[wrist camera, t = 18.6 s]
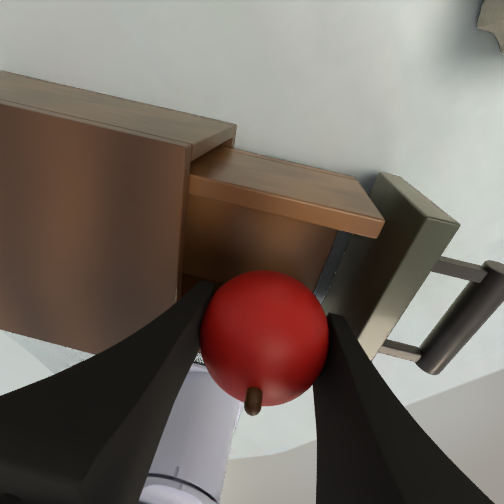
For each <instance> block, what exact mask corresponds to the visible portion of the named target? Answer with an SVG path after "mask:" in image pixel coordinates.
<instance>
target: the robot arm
mask: <svg viewBox="0 0 504 504" xmlns="http://www.w3.org/2000/svg"><path fill="white" fill-rule="evenodd" d="M215 287H216V284H214V283H210V282H206V281H202V280H201V281H199V282H198V283H197V284H196V285H195V286H194V287H193V288H192V289H191V290H190V291H189V292H187V293H186V294H185V295H184V296H183V297H182V298H181V299H179V300H178V301H177V302H176V303H175V304H173V305H172V306H171V307H170V308H168V309H167V310H166V311H165V312H163V313H162V314H161V315H159V316H158V317H157V318H155V319H154V320H152V321H151V322H150V323H148V324H147V325H145V326H144V327H142V328H141V329H139V330H138V331H136V332H135V333H133V334H132V335H130V336H128V337H127V338H125V339H124V340H122V341H120V342H118V343H117V344H115V345H113V346H111V347H109V348H108V349H106V350H104V351H102V352H100V353H99V354H97V355H95V356H93V357H91V358H89V359H87V360H85V361H82V362H80V363H78V364H76V365H74V366H72V367H70V368H67V369H65V370H63V371H61V372H59V373H57V374H54V375H52V376H50V377H48V378H45V379H42V380H40V381H37V382H35V383H32V384H30V385H27V386H25V387H22V388H20V389H17V390H15V391H12V392H9V393H7V394H4V395H2V396H0V504H219V503H220V498H221V493H222V488H223V482H224V478H225V473H226V467H227V463H228V458H229V453H230V447H231V442H232V437H233V432H234V430H235V429H236V425H237V422H238V419H239V416H240V412H241V409H242V406H243V403H244V402H241V401H239V400H237V399H235V398H234V397H232V396H230V395H229V394H227V393H226V392H225V391H223V390H222V389H221V388H220V387H219V386H218V385H217V383H216V382H215V381H214V380H213V378H212V377H211V375H210V374H209V372H208V370H207V368H206V366H203V365H199V364H196V363H193V362H194V360H195V357H196V355H197V353H198V351H199V349H200V343H199V333H200V326H201V322H202V319H203V316H204V312H205V310H206V308H207V305H208V303H209V301H210V299H211V298H212V296H213V295H214V293H215ZM326 318H327V323H328V328H329V350H328V356H327V359H326V362H325V365H324V367H323V370H322V371H321V373H320V375H319V377H318V378H317V380H316V381H315V382H314V383H313V393H314V405H315V417H316V430H317V486H316V504H495V503H494V502H492V501H491V500H490V499H489V498H488V497H487V496H486V495H485V494H484V493H483V492H482V491H481V490H480V489H479V488H478V487H477V486H476V485H475V484H474V483H473V482H472V481H471V480H470V479H469V478H468V477H467V476H466V475H465V474H464V473H463V472H462V471H461V470H460V469H459V468H458V467H457V466H456V465H455V464H454V463H453V462H452V461H451V460H450V459H449V458H448V457H447V456H446V455H445V454H444V452H443V451H442V450H441V449H440V448H439V447H438V446H437V445H436V444H435V443H434V442H433V440H432V439H431V438H430V437H429V436H428V435H427V434H426V433H425V432H424V430H423V429H422V428H421V427H420V426H419V425H418V423H417V422H416V421H415V420H414V419H413V417H412V416H411V415H410V414H409V413H408V411H407V410H406V409H405V407H404V406H403V405H402V404H401V403H400V401H399V400H398V399H397V397H396V396H395V395H394V393H393V392H392V391H391V389H390V388H389V387H388V385H387V384H386V382H385V381H384V380H383V378H382V377H381V375H380V374H379V372H378V371H377V370H376V368H375V367H374V365H373V364H372V362H371V360H370V359H369V357H368V356H367V354H366V353H365V351H364V349H363V348H362V346H361V345H360V343H359V341H358V340H357V338H356V336H355V335H354V333H353V331H352V329H351V328H350V326H349V324H348V323H347V321H346V319H345V318H344V316H341V315H338V314H334V313H330V312H328V314H327V316H326Z"/></svg>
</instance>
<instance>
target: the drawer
mask: <svg viewBox="0 0 504 504" xmlns="http://www.w3.org/2000/svg"><path fill="white" fill-rule="evenodd" d="M459 227H460V224H459V223H458V222H457V221H456V220H454V219H453V218H452V217H450V216H449V215H448V214H447V213H445V212H444V211H443V210H442V209H440V208H439V207H438V206H437V205H435V204H434V203H433V202H432V201H430V200H429V199H428V198H427V197H425V196H424V195H423V194H421V193H420V192H419V191H418V190H416V189H415V188H414V187H413V186H411V185H410V184H409V183H408V182H406V181H405V180H404V179H403V178H401V177H400V176H396V175H391V174H387V173H383V172H379V174H378V176H377V178H376V181H375V183H374V185H373V188H372V190H371V192H370V195H369V196H368V195H367V193H366V192H365V190H364V189H363V188H362V186H361V185H360V183H359V182H358V180H357V179H356V177H353V176H349V175H345V174H340V173H336V172H332V171H328V170H323V169H319V168H315V167H310V166H306V165H302V164H297V163H293V162H289V161H285V160H280V159H276V158H272V157H267V156H263V155H259V154H254V153H250V152H246V151H242V150H237V149H233V148H229V147H224V146H220V145H218V146H217V147H215V148H213V149H212V150H210V151H208V152H206V153H205V154H203V155H201V156H200V157H198V158H196V159H195V160H193V161H191V162H190V176H189V191H188V205H187V219H186V233H185V247H184V261H183V275H182V289H181V298H182V297H183V296H184V295H185V294H186V293H187V292H189V291H190V290H191V289H192V288H193V287H194V286H195V285H196V284H197V283H198V282H199V281H201V280H202V281H206V282H210V283H214V284H216V287H215V293H216V291H217V290H218V289H219V288H220V287H221V286H223V285H224V284H225V283H226V282H228V281H229V280H231V279H232V278H234V277H236V276H238V275H241V274H243V273H246V272H250V271H256V270H270V271H276V272H281V273H284V274H287V275H289V276H291V277H293V278H295V279H297V280H298V281H300V282H301V283H302V284H304V285H305V286H306V287H307V288H308V289H309V290H310V291H311V292H312V293H314V290H315V288H316V285H317V283H318V280H319V278H320V275H321V273H322V270H323V268H324V265H325V263H326V260H327V258H328V255H329V253H330V250H331V248H332V245H333V243H334V240H335V238H336V235H337V233H338V230H340V231H344V232H349V233H353V234H352V236H351V239H350V241H349V243H348V245H347V248H346V250H345V252H344V255H343V257H342V259H341V262H340V264H339V266H338V269H337V271H336V273H335V276H334V278H333V280H332V282H331V285H330V287H329V289H328V292H327V294H326V296H325V299H324V301H323V303H322V308H323V311H324V313H325V316H327V314H328V312H330V313H334V314H338V315H341V316H344V318H345V319H346V321H347V323H348V324H349V326H350V328H351V329H352V331H353V333H354V335H355V336H356V338H357V340H358V341H359V343H360V345H361V346H362V348H363V349H364V351H365V353H366V354H367V356H368V357H369V359H370V360H371V362H372V360H373V358H374V357H375V355H376V354H377V352H379V353H383V354H387V355H391V356H395V357H399V358H402V359H406V360H410V361H414V362H415V363H416V364H417V366H418V367H419V368H421V369H422V370H423V371H425V372H427V373H429V374H432V375H437V374H439V373H440V372H441V371H442V370H443V369H444V368H445V367H446V365H447V364H448V363H449V362H450V361H451V360H452V359H453V358H454V356H455V355H456V354H457V353H458V352H459V351H460V350H461V349H462V347H463V346H464V345H465V344H466V343H467V342H468V341H469V340H470V338H471V337H472V336H473V335H474V334H475V333H476V332H477V331H478V329H479V328H480V327H481V326H482V325H483V324H484V323H485V322H486V320H487V319H488V318H489V317H490V316H491V315H492V314H493V313H494V311H495V310H496V309H497V308H498V307H499V306H500V305H501V304H502V302H503V301H504V264H502V263H499V262H495V261H490V260H488V261H485V262H484V263H483V265H482V266H480V265H476V264H472V263H467V262H463V261H459V260H455V259H451V258H447V257H442V256H441V255H442V253H443V252H444V250H445V249H446V247H447V245H448V244H449V242H450V241H451V239H452V238H453V236H454V235H455V233H456V232H457V230H458V229H459ZM430 271H432V272H436V273H440V274H444V275H448V276H453V277H457V278H461V279H465V280H469V281H470V282H469V283H468V284H467V286H466V287H465V288H464V289H463V291H462V292H461V293H460V295H459V296H458V297H457V299H456V300H455V301H454V302H453V304H452V305H451V306H450V308H449V309H448V310H447V312H446V313H445V314H444V316H443V317H442V318H441V319H440V321H439V322H438V323H437V325H436V326H435V327H434V329H433V330H432V331H431V333H430V334H429V335H428V336H427V338H426V339H425V340H424V342H423V343H422V344H421V346H420V347H419V348H418V347H415V346H411V345H407V344H403V343H399V342H395V341H391V340H387V337H388V336H389V334H390V333H391V331H392V329H393V328H394V326H395V325H396V323H397V322H398V320H399V319H400V317H401V316H402V314H403V313H404V311H405V310H406V308H407V307H408V305H409V303H410V302H411V300H412V299H413V297H414V296H415V294H416V293H417V291H418V290H419V288H420V287H421V285H422V284H423V282H424V281H425V279H426V278H427V276H428V274H429V273H430ZM215 293H214V294H215ZM198 353H201V350H200V349H199V351H198Z"/></svg>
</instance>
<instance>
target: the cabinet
mask: <svg viewBox="0 0 504 504" xmlns="http://www.w3.org/2000/svg"><path fill="white" fill-rule="evenodd" d="M236 127H237V125H236V124H232V123H228V122H223V121H219V120H215V119H210V118H206V117H202V116H197V115H193V114H188V113H184V112H180V111H175V110H171V109H167V108H162V107H158V106H154V105H149V104H145V103H140V102H136V101H132V100H127V99H123V98H119V97H114V96H110V95H106V94H101V93H97V92H92V91H88V90H84V89H79V88H75V87H71V86H66V85H62V84H58V83H53V82H49V81H44V80H40V79H36V78H31V77H27V76H23V75H18V74H14V73H10V72H5V71H1V70H0V329H1V330H4V331H8V332H12V333H16V334H20V335H23V336H27V337H31V338H35V339H39V340H42V341H46V342H50V343H54V344H57V345H61V346H65V347H69V348H73V349H76V350H80V351H84V352H88V353H91V354H95V355H97V354H99V353H100V352H102V351H104V350H106V349H108V348H109V347H111V346H113V345H115V344H117V343H118V342H120V341H122V340H124V339H125V338H127V337H128V336H130V335H132V334H133V333H135V332H136V331H138V330H139V329H141V328H142V327H144V326H145V325H147V324H148V323H150V322H151V321H152V320H154V319H155V318H157V317H158V316H159V315H161V314H162V313H163V312H165V311H166V310H167V309H168V308H170V307H171V306H172V305H173V304H175V303H176V302H177V301H178V300H179V299H181V289H182V275H183V261H184V247H185V233H186V219H187V205H188V191H189V176H190V162H191V161H193V160H195V159H196V158H198V157H200V156H201V155H203V154H205V153H206V152H208V151H210V150H212V149H213V148H215V147H217V146H218V145H220V146H224V147H229V148H234V141H235V134H236Z"/></svg>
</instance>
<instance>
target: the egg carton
mask: <svg viewBox="0 0 504 504" xmlns="http://www.w3.org/2000/svg"><path fill="white" fill-rule="evenodd" d="M477 28H478V29H483V30H486V31H489V32H492V33H493V34H494V35H495V36H496V38H497V40H498V42H499V45H500V51H501V52H502V53H504V0H485V1H484V3H483V5H482V6H481V12H480V15H479V18H478V24H477Z"/></svg>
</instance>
